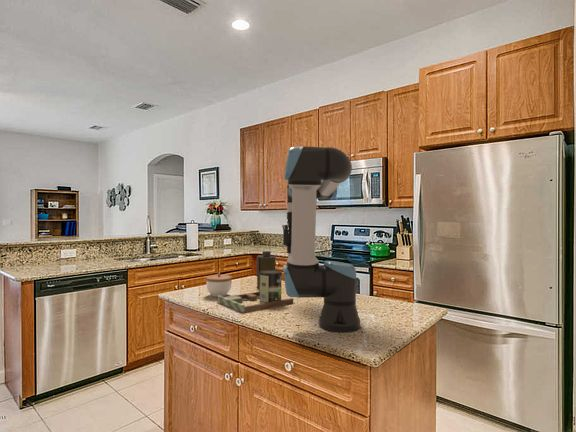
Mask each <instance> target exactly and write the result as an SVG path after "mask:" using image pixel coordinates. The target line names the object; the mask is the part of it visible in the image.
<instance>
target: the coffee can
mask: <svg viewBox="0 0 576 432" xmlns="http://www.w3.org/2000/svg"><path fill="white" fill-rule="evenodd" d="M282 273H283V272H282V271H281V270H277V269H275V270H263V271H260V289H259V292H260V299H259V301H258V302H259V304H261V303H267V302H273V301H278V300H282Z"/></svg>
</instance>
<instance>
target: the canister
mask: <svg viewBox="0 0 576 432" xmlns="http://www.w3.org/2000/svg"><path fill="white" fill-rule="evenodd" d="M271 254H272V251H269V250H266V251H262V252H261V255H257V256H256V289H258V290H260V271H263V270H276V256H275V255H271Z"/></svg>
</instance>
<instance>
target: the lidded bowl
mask: <svg viewBox="0 0 576 432" xmlns="http://www.w3.org/2000/svg"><path fill="white" fill-rule="evenodd" d="M205 279H206V282H205V283H206V289H207V292H208V293H209V294H210V295H211V297H214V298H218V296H222V297H227V294H229V292H230V291H231V289H232V284H233V283H232V279H233V277H232V275H227V274H221V272H217V274H214V275H213V274H212V275H208V276H206V278H205Z"/></svg>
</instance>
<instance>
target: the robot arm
mask: <svg viewBox="0 0 576 432" xmlns="http://www.w3.org/2000/svg"><path fill="white" fill-rule="evenodd" d="M352 165H353V164H352V161H351V159H350V157H349V156H348V155H347V154H346V153H345V152H344V151H342V150H341V149H339V148H336V147H332V146H331V147H329V146H327V147H324V146H323V147H322V146H291V147H290V148H289V149H288V150H287V155H286V160H285V166H284V168H285V169H284V175H283V176H284V177H283V178H284V180H285V181H287V185H286V199H287V200H286V211H287V212H286V219H287V221H286V223H285V224H282V226H281V227H282V230H283V239H282V241H283V246H286V253H287V260H286V264H284V265H283V266H282V271H283V272H282V273H283V280H284V286H285V293H286V296H287V297H290V298H298V299H301V298H302V299H303V298H323V306H322V307H321V313H320V316H319V318H318V327H321V329H323V330H327V331H329V332H339V333H340V332H341V333H345V332H348V333H349V332H355V331H358V330H359V329H360V328H361V318H360V317H359V312H358V309H357V269H356V267H355V266H354V265H352V264H350V263H346V262H341V261H336V260H335V261H334V260H325V261H324V262H323V264H320V260H319V259H318V258H317V256H316V230H317V229H316V224H317V220H316V219H317V217H316V216H317V199H318V200H319V199H320V200H334V199H336V198H337V196H338V186H339V185H340V184H341V183H344V182H345V181H347V180H348V179H349V178H350V176H351V174H352V171H353V166H352Z"/></svg>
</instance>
